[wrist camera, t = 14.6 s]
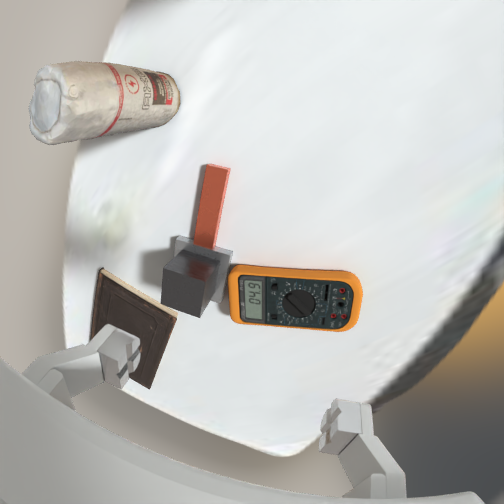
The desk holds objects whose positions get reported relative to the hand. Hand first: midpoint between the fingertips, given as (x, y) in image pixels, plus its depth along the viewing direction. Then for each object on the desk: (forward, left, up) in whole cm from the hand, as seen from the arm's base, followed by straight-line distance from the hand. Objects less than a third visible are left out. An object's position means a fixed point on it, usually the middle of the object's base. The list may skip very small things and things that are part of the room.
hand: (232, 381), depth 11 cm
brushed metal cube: (+13, -10, -28) cm, 32 cm away
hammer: (+7, -10, -29) cm, 32 cm away
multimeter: (+13, +4, -30) cm, 32 cm away
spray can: (-9, -21, -29) cm, 37 cm away
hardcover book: (+32, -23, -30) cm, 49 cm away
